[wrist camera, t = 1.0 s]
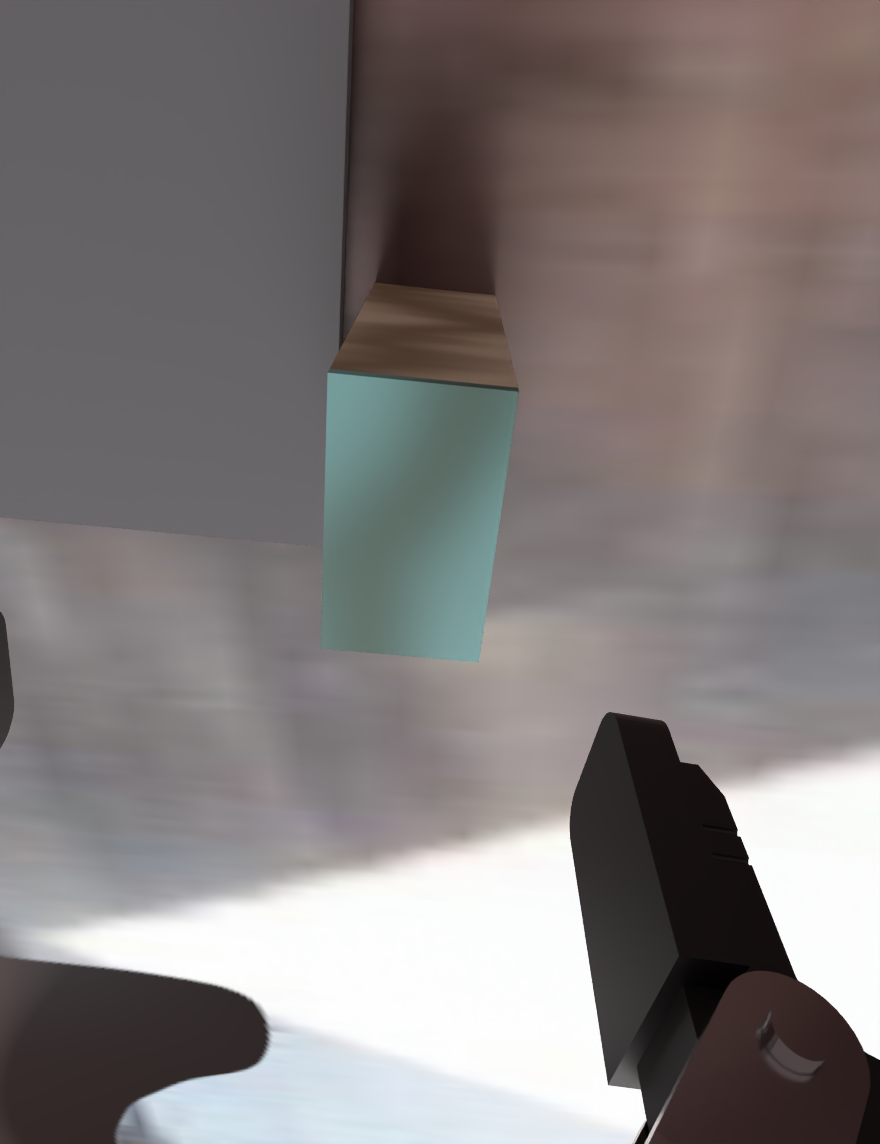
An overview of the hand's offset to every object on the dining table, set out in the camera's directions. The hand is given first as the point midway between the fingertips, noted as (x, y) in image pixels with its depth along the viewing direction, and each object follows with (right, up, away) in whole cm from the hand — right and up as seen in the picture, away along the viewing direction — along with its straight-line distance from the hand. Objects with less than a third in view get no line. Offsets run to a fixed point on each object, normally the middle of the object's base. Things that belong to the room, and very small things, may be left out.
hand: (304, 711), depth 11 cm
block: (+1, +8, +17) cm, 19 cm away
